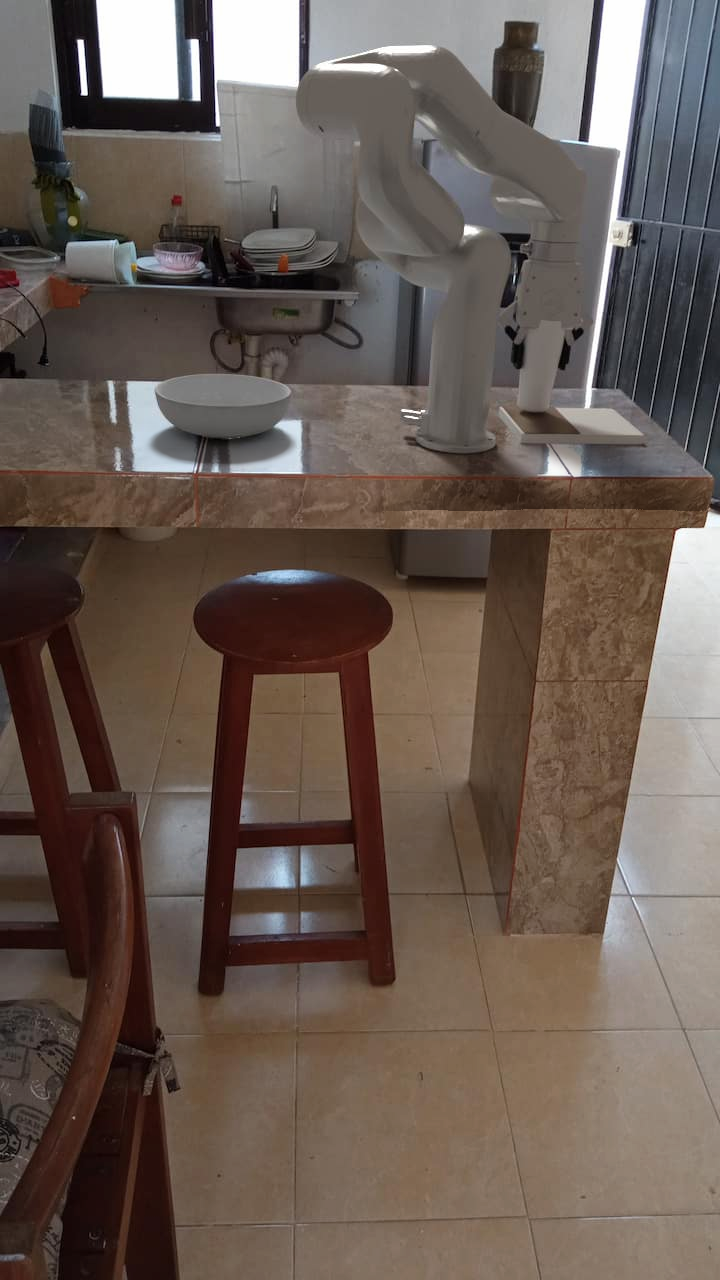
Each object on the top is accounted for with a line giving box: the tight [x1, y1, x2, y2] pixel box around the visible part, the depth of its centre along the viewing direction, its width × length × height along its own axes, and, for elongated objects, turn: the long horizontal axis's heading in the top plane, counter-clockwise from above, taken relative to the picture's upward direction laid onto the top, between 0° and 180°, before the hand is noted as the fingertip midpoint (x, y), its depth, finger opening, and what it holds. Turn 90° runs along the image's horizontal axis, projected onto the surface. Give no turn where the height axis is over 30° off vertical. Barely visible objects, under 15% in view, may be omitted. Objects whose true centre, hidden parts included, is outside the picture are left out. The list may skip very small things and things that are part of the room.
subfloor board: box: [498, 406, 645, 445], centre depth 166 cm, size 20×16×2 cm
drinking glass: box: [516, 320, 565, 413], centre depth 165 cm, size 7×7×15 cm
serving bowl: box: [154, 373, 292, 440], centre depth 156 cm, size 21×21×7 cm
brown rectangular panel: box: [502, 405, 580, 434], centre depth 165 cm, size 9×16×2 cm, turn 5°
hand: (538, 367), depth 165 cm, fingers open, 6 cm apart
